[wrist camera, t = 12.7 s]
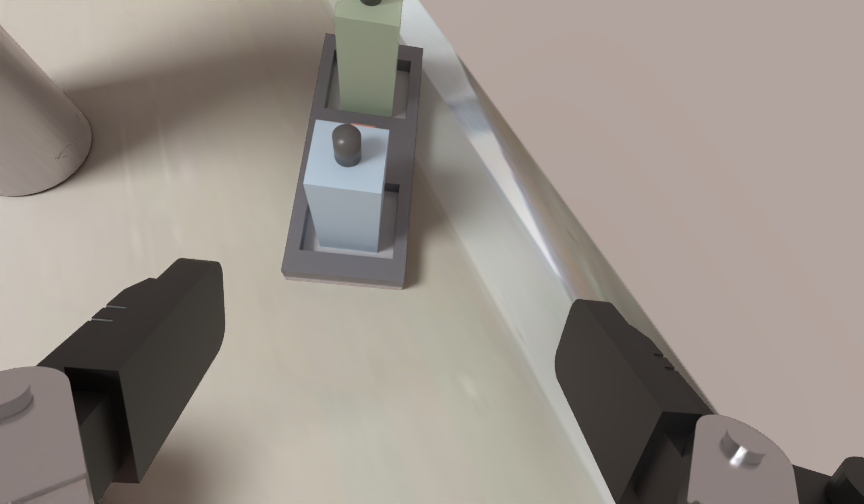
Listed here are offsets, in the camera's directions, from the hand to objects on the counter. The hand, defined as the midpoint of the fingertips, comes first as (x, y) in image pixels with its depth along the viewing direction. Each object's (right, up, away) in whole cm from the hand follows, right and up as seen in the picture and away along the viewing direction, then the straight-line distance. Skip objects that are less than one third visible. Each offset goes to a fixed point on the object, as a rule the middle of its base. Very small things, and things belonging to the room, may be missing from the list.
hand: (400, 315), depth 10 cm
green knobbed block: (-5, +16, +30) cm, 34 cm away
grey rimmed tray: (-5, +10, +29) cm, 31 cm away
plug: (-6, +4, +25) cm, 26 cm away
